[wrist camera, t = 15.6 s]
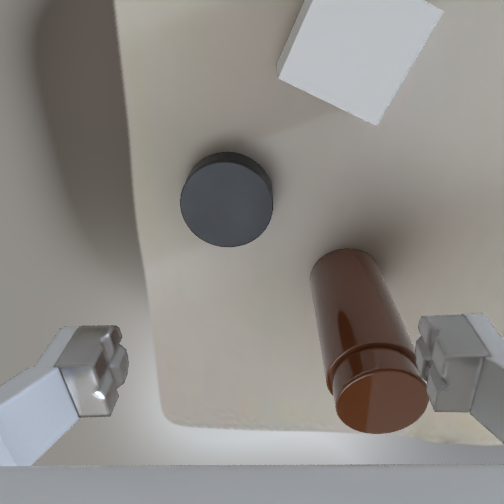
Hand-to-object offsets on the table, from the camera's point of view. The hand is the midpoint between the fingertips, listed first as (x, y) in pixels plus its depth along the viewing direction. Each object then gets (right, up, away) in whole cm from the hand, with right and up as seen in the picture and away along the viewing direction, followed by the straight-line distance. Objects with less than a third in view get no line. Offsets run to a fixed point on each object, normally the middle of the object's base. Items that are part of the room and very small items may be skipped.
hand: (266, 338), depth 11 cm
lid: (-2, +6, +19) cm, 19 cm away
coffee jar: (+7, 0, +24) cm, 25 cm away
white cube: (+5, +16, +15) cm, 22 cm away
